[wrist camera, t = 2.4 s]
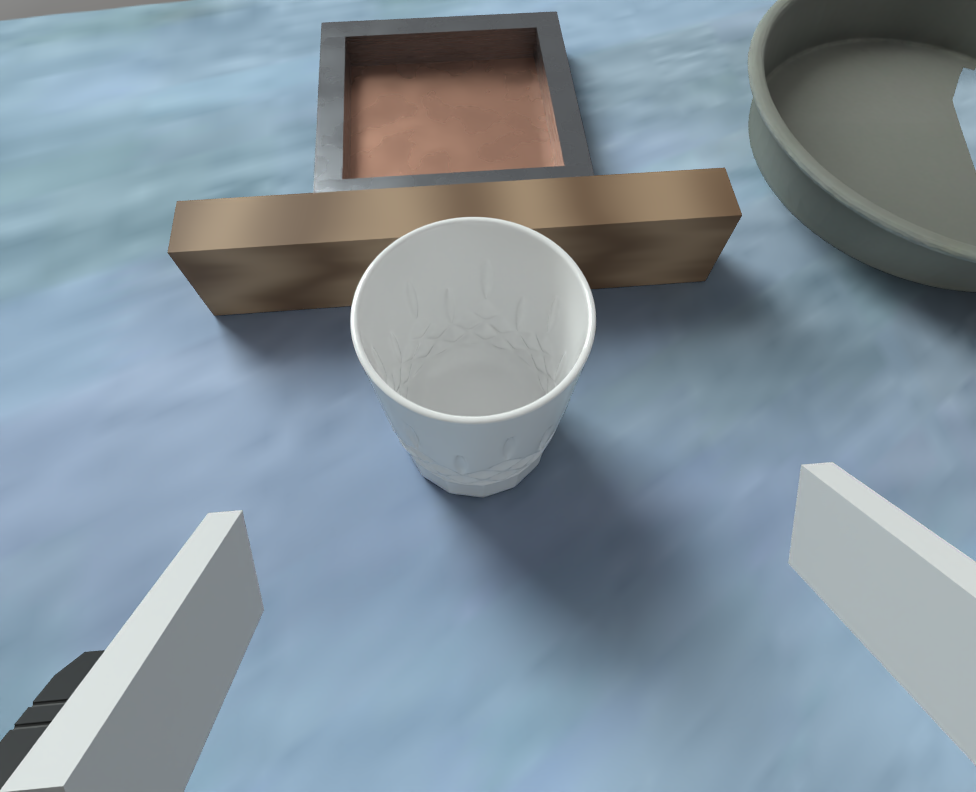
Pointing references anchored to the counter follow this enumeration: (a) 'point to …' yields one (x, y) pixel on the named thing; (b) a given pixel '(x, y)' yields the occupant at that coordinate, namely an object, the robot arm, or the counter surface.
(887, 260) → the cake pan
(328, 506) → the counter surface
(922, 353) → the counter surface
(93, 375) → the counter surface
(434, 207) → the board
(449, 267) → the white cup
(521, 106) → the square tray
